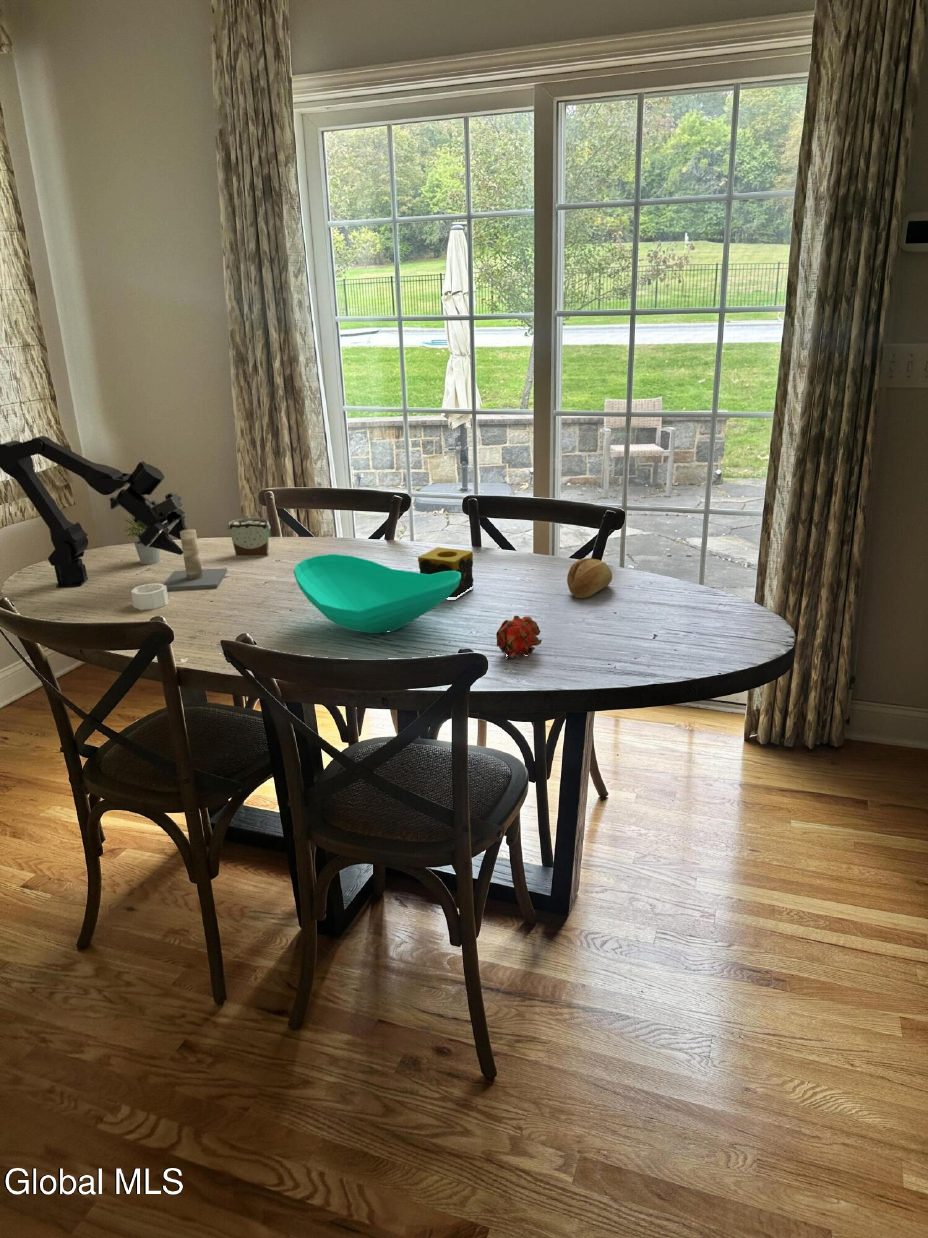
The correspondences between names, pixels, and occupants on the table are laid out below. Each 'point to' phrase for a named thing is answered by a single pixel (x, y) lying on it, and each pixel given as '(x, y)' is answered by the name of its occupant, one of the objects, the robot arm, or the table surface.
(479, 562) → the table surface
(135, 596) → the holder cup
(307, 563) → the table top decor
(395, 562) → the table surface
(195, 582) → the rubber mat
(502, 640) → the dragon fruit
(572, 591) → the bread roll
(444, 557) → the candle
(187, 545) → the birch peg
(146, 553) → the house plant
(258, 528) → the food container
